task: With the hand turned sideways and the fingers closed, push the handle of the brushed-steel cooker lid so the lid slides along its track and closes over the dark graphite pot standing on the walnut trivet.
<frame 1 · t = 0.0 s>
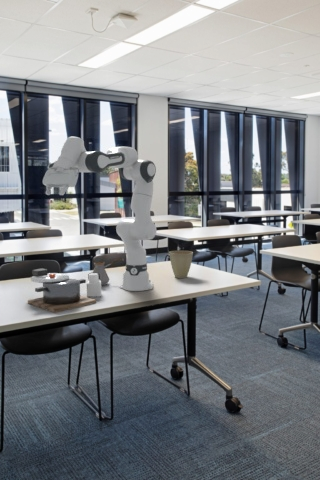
hand: (54, 194, 208), 54 cm above the table, tool tilted 30°, fingers open, 8 cm apart
medicine bottle: (94, 295, 244), on the table
coffee pot: (107, 283, 271), on the table
cooker pot: (61, 291, 227), on the trivet, point 6 cm above the table
plant pot: (181, 277, 289), on the table
lid: (48, 275, 234), point 12 cm above the table, slide at 10.0 cm
trivet: (62, 302, 228), on the table
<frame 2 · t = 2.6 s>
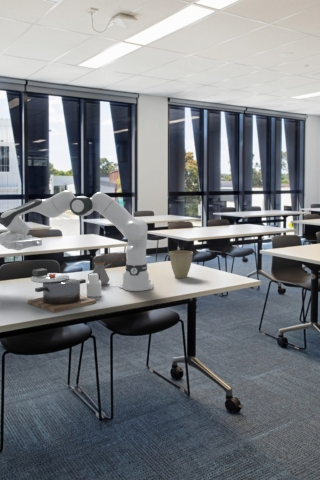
hand: (31, 245, 242), 27 cm above the table, tool horizontal, fingers open, 8 cm apart
nothing on the table moved.
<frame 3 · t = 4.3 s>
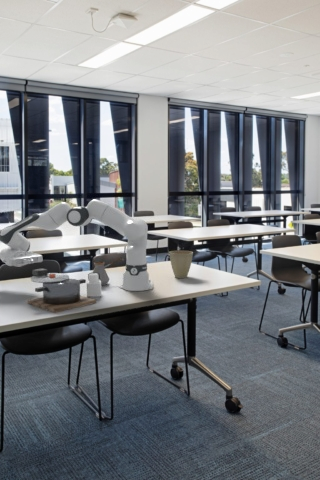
hand: (31, 261, 245), 17 cm above the table, tool horizontal, fingers closed
nothing on the table moved.
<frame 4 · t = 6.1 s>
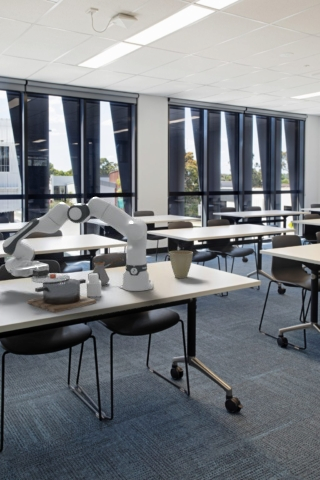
hand: (38, 271, 241), 13 cm above the table, tool horizontal, fingers closed, pressing on lid
lid: (49, 275, 234), point 12 cm above the table, slide at 9.5 cm, touching gripper
everything else where it was.
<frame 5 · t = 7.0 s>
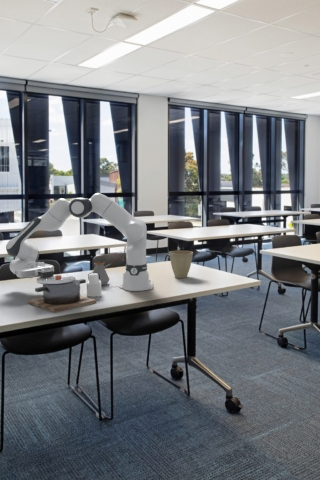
hand: (43, 273, 238), 13 cm above the table, tool horizontal, fingers closed, pressing on lid
lid: (54, 276, 230), point 12 cm above the table, slide at 4.5 cm, touching gripper
everything else where it was.
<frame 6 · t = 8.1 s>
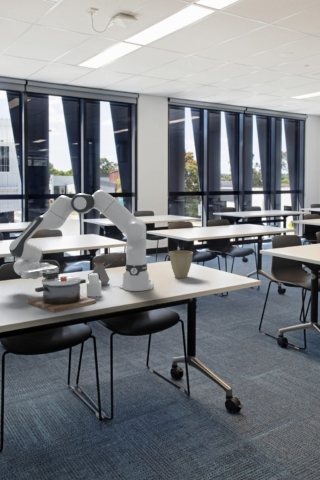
hand: (48, 274, 235), 13 cm above the table, tool horizontal, fingers closed, pressing on lid
lid: (59, 278, 227), point 12 cm above the table, slide at 0.0 cm, touching gripper
everything else where it was.
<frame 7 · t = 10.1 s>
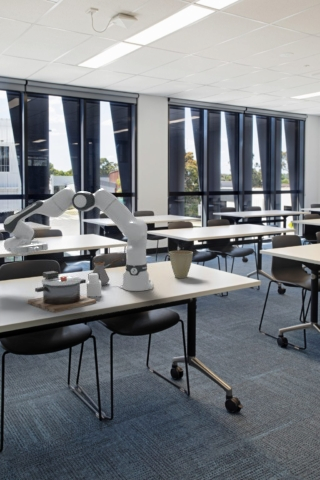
hand: (37, 249, 240), 25 cm above the table, tool horizontal, fingers closed
lid: (59, 278, 227), point 12 cm above the table, slide at 0.0 cm
everything else where it was.
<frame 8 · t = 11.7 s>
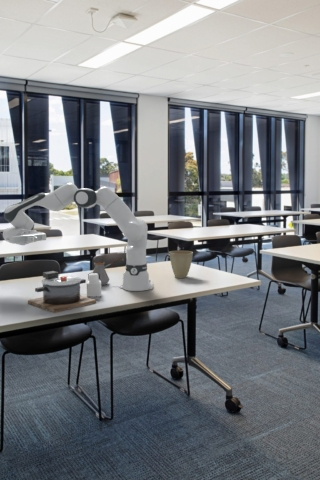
hand: (35, 239, 241), 30 cm above the table, tool horizontal, fingers closed
nothing on the table moved.
at the end: lid slide at 0.0 cm; medicine bottle moved 0.2 cm from its start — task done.
